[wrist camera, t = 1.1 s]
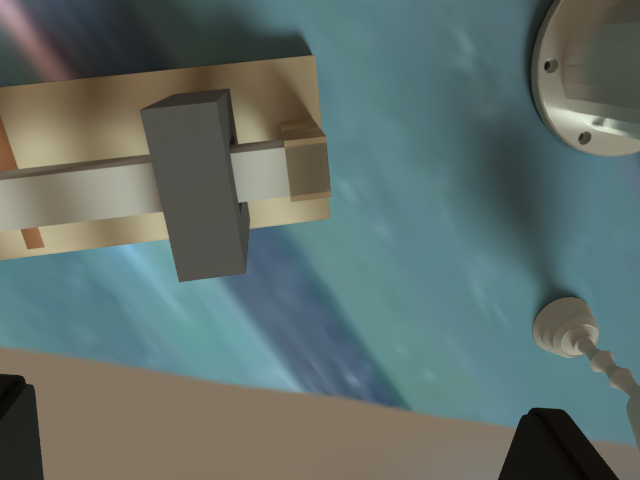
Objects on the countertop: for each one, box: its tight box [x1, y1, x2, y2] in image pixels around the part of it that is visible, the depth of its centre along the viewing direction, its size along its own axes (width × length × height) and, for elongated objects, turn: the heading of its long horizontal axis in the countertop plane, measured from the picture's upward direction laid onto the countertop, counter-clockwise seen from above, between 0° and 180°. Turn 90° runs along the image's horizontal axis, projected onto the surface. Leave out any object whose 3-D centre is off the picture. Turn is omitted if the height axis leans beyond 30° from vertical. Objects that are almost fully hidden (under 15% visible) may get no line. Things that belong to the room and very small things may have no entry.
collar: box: [140, 88, 250, 282], centre depth 24 cm, size 3×8×8 cm, turn 5°
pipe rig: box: [0, 55, 331, 260], centre depth 26 cm, size 26×10×8 cm, turn 95°
